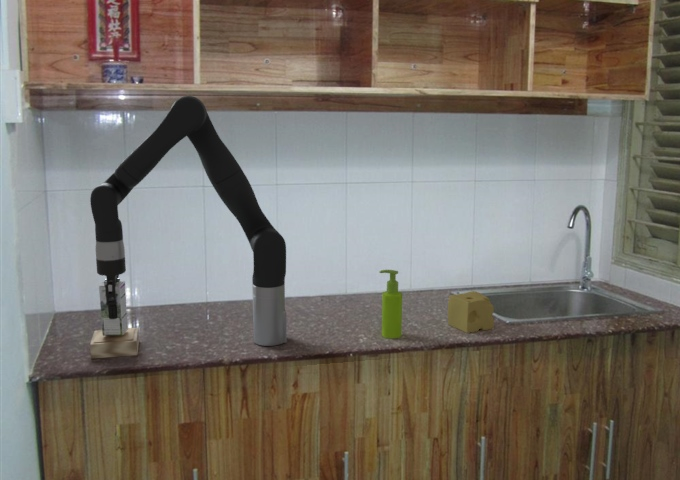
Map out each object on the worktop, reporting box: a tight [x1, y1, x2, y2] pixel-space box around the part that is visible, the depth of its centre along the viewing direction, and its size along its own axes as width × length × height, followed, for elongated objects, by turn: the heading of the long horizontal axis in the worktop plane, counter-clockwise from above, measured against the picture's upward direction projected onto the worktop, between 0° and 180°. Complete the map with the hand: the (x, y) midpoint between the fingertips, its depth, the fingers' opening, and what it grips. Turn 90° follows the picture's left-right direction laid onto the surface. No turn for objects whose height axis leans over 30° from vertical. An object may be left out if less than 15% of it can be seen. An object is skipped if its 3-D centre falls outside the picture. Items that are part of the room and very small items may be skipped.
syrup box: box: [98, 280, 129, 336], centre depth 187 cm, size 6×6×14 cm
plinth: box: [89, 327, 140, 360], centre depth 189 cm, size 12×12×4 cm
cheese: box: [447, 290, 495, 334], centre depth 210 cm, size 10×11×10 cm
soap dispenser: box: [379, 269, 403, 340], centre depth 201 cm, size 6×7×20 cm
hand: (114, 314), depth 187 cm, fingers closed on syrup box, 6 cm apart
